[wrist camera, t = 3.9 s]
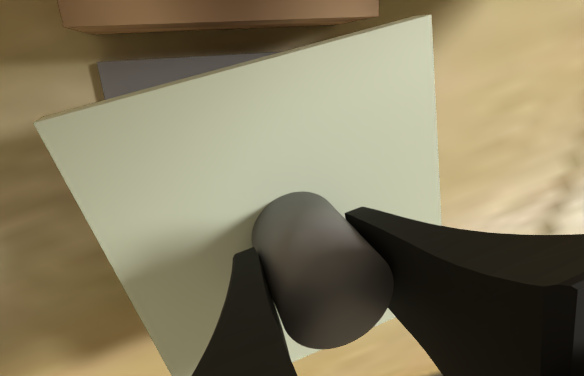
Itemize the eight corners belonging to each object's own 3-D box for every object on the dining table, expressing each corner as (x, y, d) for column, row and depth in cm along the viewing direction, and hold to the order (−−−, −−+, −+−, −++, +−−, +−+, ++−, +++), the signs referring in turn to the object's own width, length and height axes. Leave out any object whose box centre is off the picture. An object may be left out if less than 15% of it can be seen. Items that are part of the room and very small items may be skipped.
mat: (374, 46, 17) (378, 46, 17) (368, 264, 22) (372, 268, 21) (98, 61, 15) (96, 62, 14) (154, 311, 19) (154, 316, 18)
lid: (415, 15, 11) (537, 6, 8) (432, 284, 16) (513, 360, 12) (43, 116, 9) (-41, 171, 6) (188, 388, 14) (195, 516, 10)
